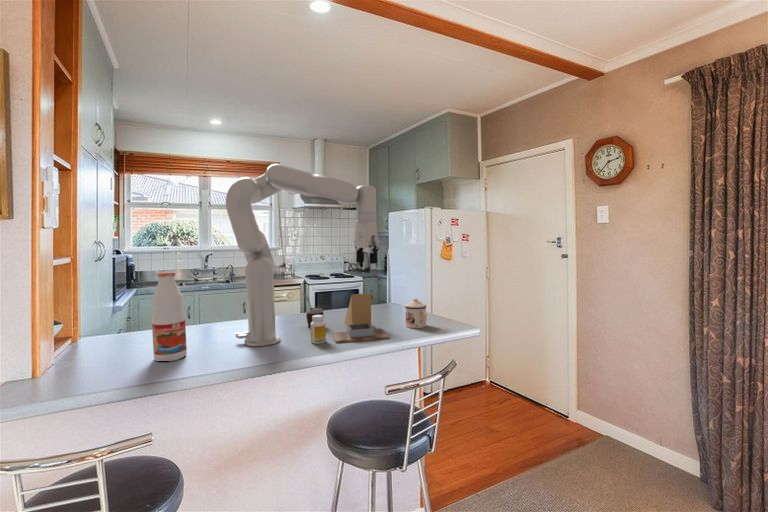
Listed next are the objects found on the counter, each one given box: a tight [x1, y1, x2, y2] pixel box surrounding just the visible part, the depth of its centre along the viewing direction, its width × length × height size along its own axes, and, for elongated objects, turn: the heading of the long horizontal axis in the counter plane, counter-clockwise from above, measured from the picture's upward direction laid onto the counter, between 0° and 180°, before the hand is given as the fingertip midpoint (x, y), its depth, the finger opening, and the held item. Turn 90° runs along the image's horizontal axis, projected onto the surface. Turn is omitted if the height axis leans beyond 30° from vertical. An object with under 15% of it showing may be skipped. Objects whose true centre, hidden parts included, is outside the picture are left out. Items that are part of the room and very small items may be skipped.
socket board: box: [331, 323, 390, 344], centre depth 145 cm, size 20×12×4 cm, turn 104°
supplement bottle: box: [310, 314, 327, 345], centre depth 139 cm, size 5×5×10 cm
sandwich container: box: [344, 292, 372, 326], centre depth 162 cm, size 9×15×15 cm, turn 19°
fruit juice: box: [150, 271, 188, 362], centre depth 123 cm, size 9×9×28 cm
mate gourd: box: [302, 293, 324, 329], centre depth 160 cm, size 8×8×15 cm
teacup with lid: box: [404, 298, 428, 329], centre depth 158 cm, size 12×9×12 cm
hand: (366, 262), depth 146 cm, fingers open, 9 cm apart
